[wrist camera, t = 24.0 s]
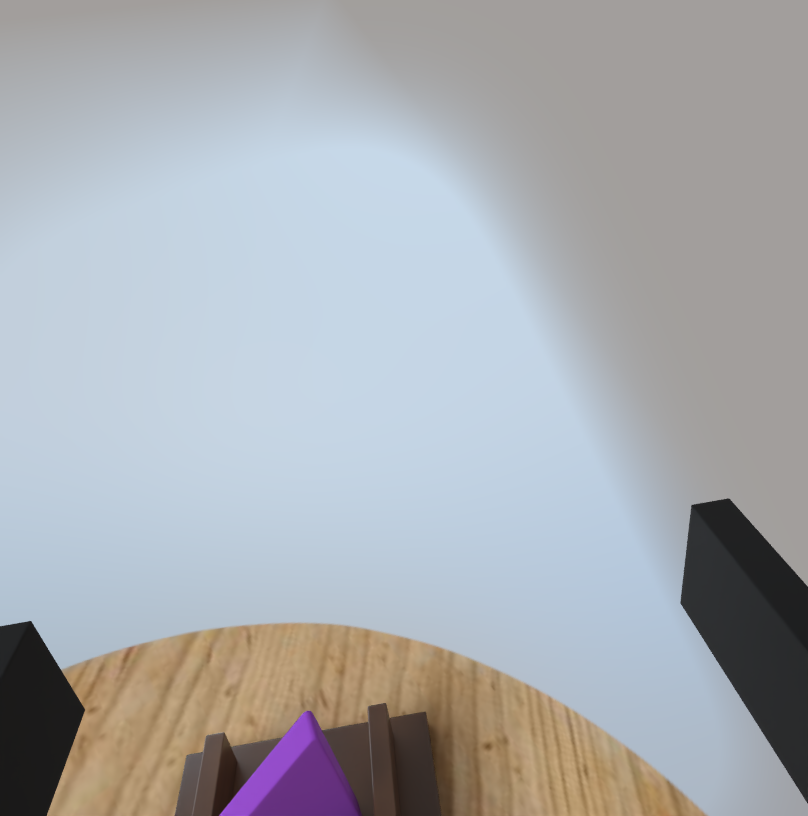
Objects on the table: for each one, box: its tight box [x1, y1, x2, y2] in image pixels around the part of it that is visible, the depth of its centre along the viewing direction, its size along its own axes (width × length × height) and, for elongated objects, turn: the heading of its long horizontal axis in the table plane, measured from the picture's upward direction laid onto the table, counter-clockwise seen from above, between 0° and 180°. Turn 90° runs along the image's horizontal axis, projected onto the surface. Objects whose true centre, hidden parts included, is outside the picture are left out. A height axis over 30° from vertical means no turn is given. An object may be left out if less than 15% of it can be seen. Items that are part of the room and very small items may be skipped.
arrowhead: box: [219, 711, 362, 816], centre depth 34 cm, size 10×2×10 cm, turn 108°
